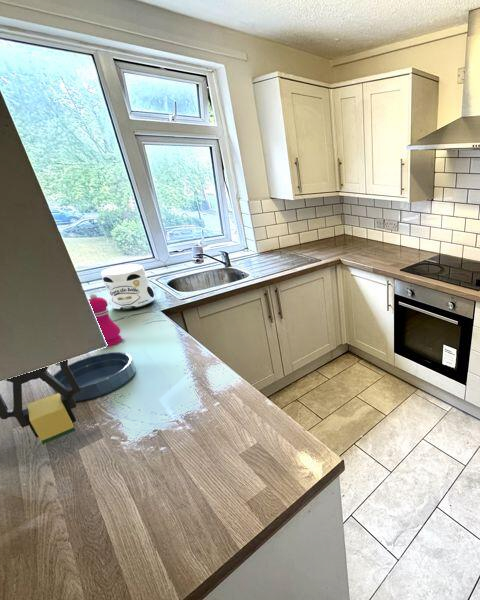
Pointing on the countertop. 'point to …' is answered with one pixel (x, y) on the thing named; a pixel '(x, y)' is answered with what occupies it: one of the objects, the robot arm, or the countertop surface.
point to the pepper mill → (105, 320)
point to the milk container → (127, 287)
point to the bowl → (98, 374)
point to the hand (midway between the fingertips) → (56, 426)
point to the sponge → (50, 418)
